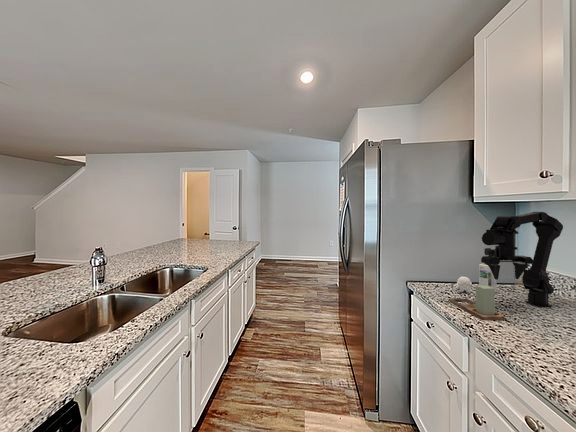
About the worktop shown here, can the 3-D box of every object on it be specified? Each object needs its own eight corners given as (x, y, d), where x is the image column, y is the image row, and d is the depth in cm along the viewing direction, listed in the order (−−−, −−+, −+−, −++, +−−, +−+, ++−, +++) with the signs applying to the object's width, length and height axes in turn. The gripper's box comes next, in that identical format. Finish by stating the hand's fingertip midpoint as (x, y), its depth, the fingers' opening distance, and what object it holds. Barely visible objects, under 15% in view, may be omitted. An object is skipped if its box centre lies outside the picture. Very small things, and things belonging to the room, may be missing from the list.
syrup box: (478, 290, 141) (478, 264, 141) (485, 289, 143) (485, 263, 143) (490, 293, 136) (490, 266, 136) (497, 292, 138) (496, 264, 138)
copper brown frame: (466, 300, 126) (466, 297, 126) (504, 319, 104) (504, 316, 104) (448, 301, 126) (448, 298, 126) (482, 320, 104) (482, 316, 104)
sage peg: (486, 313, 111) (486, 285, 111) (494, 317, 106) (494, 288, 106) (475, 313, 111) (475, 285, 111) (483, 317, 106) (483, 288, 106)
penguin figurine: (458, 276, 138) (453, 273, 149) (458, 293, 137) (454, 288, 148) (472, 277, 135) (466, 274, 146) (473, 294, 134) (467, 290, 146)
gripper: (511, 241, 123) (511, 274, 123) (472, 242, 123) (472, 275, 123) (534, 244, 112) (534, 280, 112) (490, 245, 112) (491, 281, 112)
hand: (506, 279), depth 115 cm, fingers open, 9 cm apart
